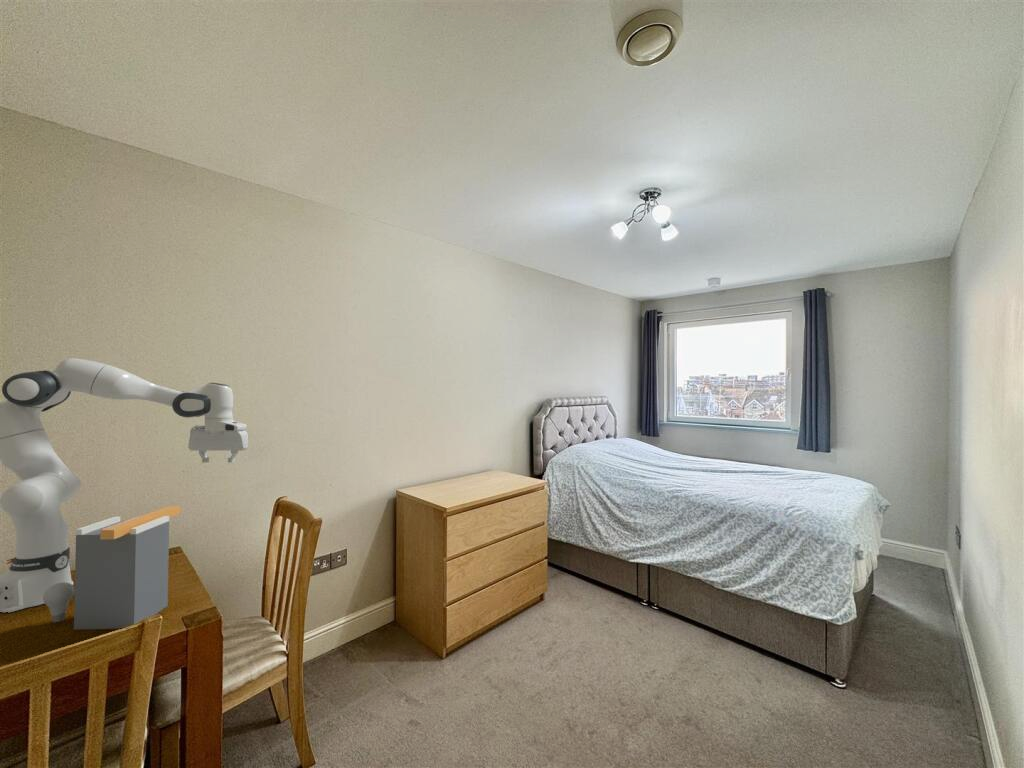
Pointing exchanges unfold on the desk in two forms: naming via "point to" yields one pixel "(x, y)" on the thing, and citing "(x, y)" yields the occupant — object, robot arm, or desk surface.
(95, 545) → the block
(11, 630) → the desk surface
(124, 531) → the orange flat bar
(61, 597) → the lightbulb
